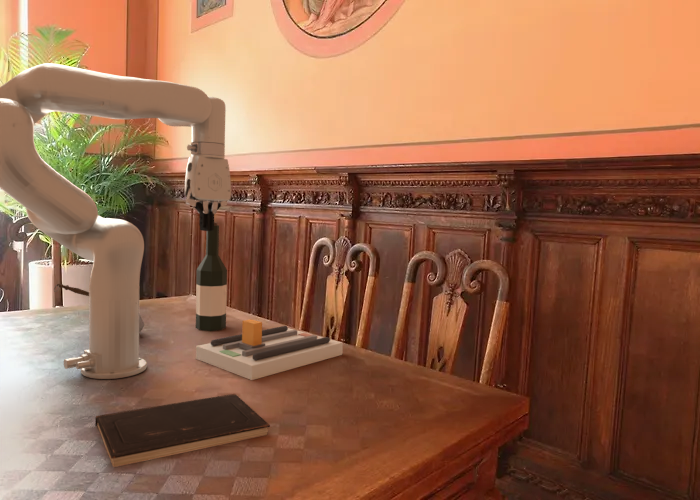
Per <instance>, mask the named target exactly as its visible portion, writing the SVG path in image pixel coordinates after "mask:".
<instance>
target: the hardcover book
mask: <svg viewBox="0 0 700 500" xmlns="http://www.w3.org/2000/svg"><path fill="white" fill-rule="evenodd" d="M94 422H95V426H97V428H98V431H99V432H100V436H101V439H102V441H103V444H104V447H105V449H106V452H107V455H108V456H109V460H110V462H111V465H112V468H116V467H117V468H118V467H120V466H121V467H122V466H126V465H131V464H132V465H133V464H136V463H141V462H145V461H150V460H155V459H159V458H164V457H170V456H174V455H178V454H182V453H188V452H192V451H197V450H201V449H207V448H211V447H216V446H221V445H226V444H229V443H235V442H239V441H240V442H241V441H246V440H249V439H254V438H258V437H264V436H267V435H268V433H269V430H268V428H270V427H271V425H270V423H268V422H267V421H266V420H265V419H264V418H263V417H261V416H260V415H259V414H258V413H257V412H256V411H255V410H254V409H253V408H251V406H249V405H248V404H247V403H246V402H245V401H244V400H243V399H241V398H240V397H239V396H238V395H237V394H236V393H231V394H224V395H217V396H213V397H212V396H211V397H206V398H199V399H193V400H187V401H181V402H175V403H169V404H168V403H167V404H161V405H157V406H149V407H143V408H138V409H137V408H136V409H132V410H131V409H130V410H124V411H118V412H111V413H105V414H98V415H96V416H95V421H94Z"/></svg>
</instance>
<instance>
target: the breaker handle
mask: <svg viewBox="0 0 700 500" xmlns="http://www.w3.org/2000/svg"><path fill="white" fill-rule="evenodd" d="M241 324H242V329H241V331H242V332H241V334H242V342H238V347H240V348H243V349H246V350H249V349H254V348H258V347H263V346H265V344H264V343H262V330H263V321H259V320H255V319H244V320H242V322H241Z"/></svg>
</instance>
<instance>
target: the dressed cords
mask: <svg viewBox="0 0 700 500" xmlns="http://www.w3.org/2000/svg"><path fill="white" fill-rule="evenodd" d="M288 328H289V327H288V325H282V326H277V327H272V328H267V329H262V336H265V335H270V334H274V333H279V332H284V331H287V330H288ZM240 340H242V333H241V334H237V335H232V336H230V335H229V336H225V337H221V338H216V339H212V340H211V341H210V343H211V345H212V346H216V345H221V344H226V343H231V342H236V341H240ZM329 341H330V336H324V338H320V339H316V340H311V341H307V342H303V343H299V344H294V345H290V346H286V347H282V348H278V349H273V350H269V351H265V352H261V353H256V354H254V355H253V357H252V358H253V360H260V359H264V358H268V357H272V356H276V355H280V354H284V353H288V352H292V351H296V350H300V349H304V348H308V347H312V346H316V345H320V344H324V343H328V342H329Z"/></svg>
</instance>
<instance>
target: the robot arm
mask: <svg viewBox="0 0 700 500" xmlns="http://www.w3.org/2000/svg"><path fill="white" fill-rule="evenodd" d="M226 111H227V110H226V104H225V101H224V100H223V99H221V98H219V97H215V96H208V94H207V93H205V91H203V90H202V89H200V88H198V87H195V86H192V85H187V84H182V83H178V82H177V83H176V82H172V81H166V80H159V79H158V80H156V79H148V78H147V79H146V78H140V77H134V76H122V75H116V74H111V73H106V72H105V73H104V72H99V71H95V70H90V69H85V68H80V67H76V66H69V65H65V64H59V63H54V62H53V63H52V62H50V63H49V62H44V63H41V64H37V65H35V66H32V67H29V68H26V69H23V71H21V72H19V73H18V74H16V75H15V76H14V77H12V78H11V79H9V80H8V81H6V82H5V83H4V84H1V86H0V189H1V190H2V191H3V192H4V193H5V194H7V195H8V196H10V198H12V199H13V200H15V201H16V202H17V203H19V204H20V205H22V206H23V207H24V208H25V211H26V215H27V218H28V219H29V221H30V223H31V224H32V225H33V226H34V227H35V228H36V229H38V230H39V231H40V232H42V233H43V234H44V235H46V236H48V237H49V238H51V239H53V241H55V242H56V243H58V244H60V245H61V246H63V247H65V249H67V250H70V252H72V253H74V254H75V255H77V256H79V257H81V258H82V259H85V260H88V261H91V262H92V263H93V264H92V269H91V272H90V277H89V284H88V285H89V286H88V292H89V296H88V299H89V300H88V301H89V303H88V304H89V305H88V307H89V308H88V309H89V311H88V315H89V316H88V317H89V319H88V322H89V323H88V336H89V337H88V338H89V340H88V343H89V346H88V349H84V350H83V351H84V352H83V354H81V355H80V356H77V357H70V358H65V359H63V367H64V369H66V370H68V369H72V368H76V369H77V370H80V373H81V375H83V376H84V377H86V378H91V379H98V380H111V379H112V380H114V379H123V378H128V377H132V376H136V375H138V374H141V373H142V372H144V371H145V370H146V369H147V367H148V366H147V365H148V364H147V361H146V360H145V359H144V358H141V357H140V332H139V313H140V280H141V279H140V278H141V277H140V276H141V268H142V262H143V257H144V253H145V241H144V236H143V234H142V232H141V231H140V229H139V228H138V226H136V225H134V224H133V223H132V222H129V221H127V220H125V219H120V218H110V217H106V218H105V217H102V216H101V215H99V211H98V208H97V207H98V206H97V205H96V202H95V201H94V199H93V198H92V197H91V196H90V195H89V194H87V192H85V191H84V190H83V189H81V188H79V187H78V186H77V185H75V184H74V183H73V182H72V181H70V180H69V179H68V178H66V177H65V176H63V175H62V174H61V173H59V172H57V170H55V168H53V167H52V166H51V165H49V164H48V163H47V162H46V161H45V160H44V159H43V158H42V157H41V155H40V154H39V153H38V150H37V148H36V145H35V140H34V137H35V124H37V123H38V121H40V120H41V119H42V118H44V117H45V116H46V115H48V114H49V113H53V112H59V113H68V114H75V115H76V114H77V115H84V116H92V117H98V118H105V119H111V120H112V119H113V120H135V119H136V120H137V119H158V120H159V121H160V122H161V123H162V124H164V125H166V126H169V127H190V128H191V142H190V144H187V145H186V150H187V151H190V155H191V156H189V157H188V160H187V164H186V170H185V177H184V178H185V180H184V195H185V196H184V197H185V198H186V199H185V204H186V205H188V206H191V207H194V208H195V210H196V212H197V213H198V214H199V219H198V220H199V223H198V224H199V230H200V231H204V232H206V231H213V230H214V222H215V215H216V214H217V213H218V210H219V209H220V208H223V207H225V206H227V205H228V201H229V200H231V196H232V195H231V194H232V191H231V190H232V187H231V186H232V184H231V183H232V182H231V171H230V164H229V161H228V159H227V158H225V156H226V155H225V153H226V152H225V151H226V149H225V147H226V145H225V144H226Z"/></svg>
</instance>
